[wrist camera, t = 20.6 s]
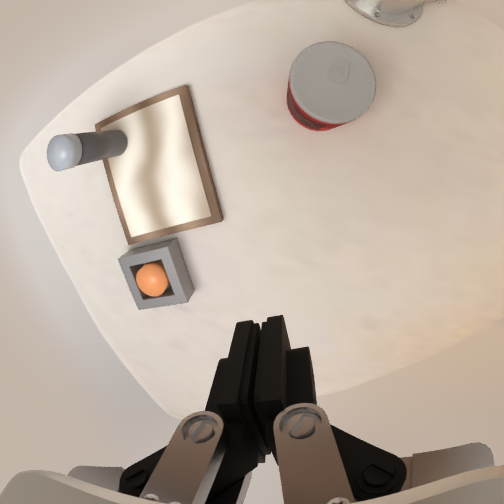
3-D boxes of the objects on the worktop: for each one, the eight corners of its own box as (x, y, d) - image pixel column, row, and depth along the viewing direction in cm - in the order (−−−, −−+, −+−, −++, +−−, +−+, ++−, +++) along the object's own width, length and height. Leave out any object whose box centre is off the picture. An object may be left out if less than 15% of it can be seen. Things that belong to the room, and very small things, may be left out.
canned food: (353, 80, 29) (381, 54, 19) (342, 138, 32) (369, 134, 22) (292, 65, 29) (297, 31, 19) (281, 124, 32) (282, 112, 22)
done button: (167, 255, 38) (158, 263, 36) (177, 284, 40) (170, 293, 37) (140, 261, 39) (131, 269, 36) (151, 288, 40) (143, 298, 38)
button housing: (176, 238, 38) (167, 246, 35) (194, 290, 41) (187, 302, 37) (129, 250, 40) (117, 258, 36) (147, 298, 42) (138, 309, 39)
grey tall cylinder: (127, 128, 32) (68, 132, 22) (127, 156, 33) (70, 170, 23) (105, 130, 32) (46, 137, 22) (105, 157, 34) (48, 172, 24)
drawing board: (188, 86, 31) (184, 84, 30) (223, 219, 37) (221, 222, 35) (99, 124, 34) (93, 124, 32) (132, 242, 39) (128, 245, 38)
